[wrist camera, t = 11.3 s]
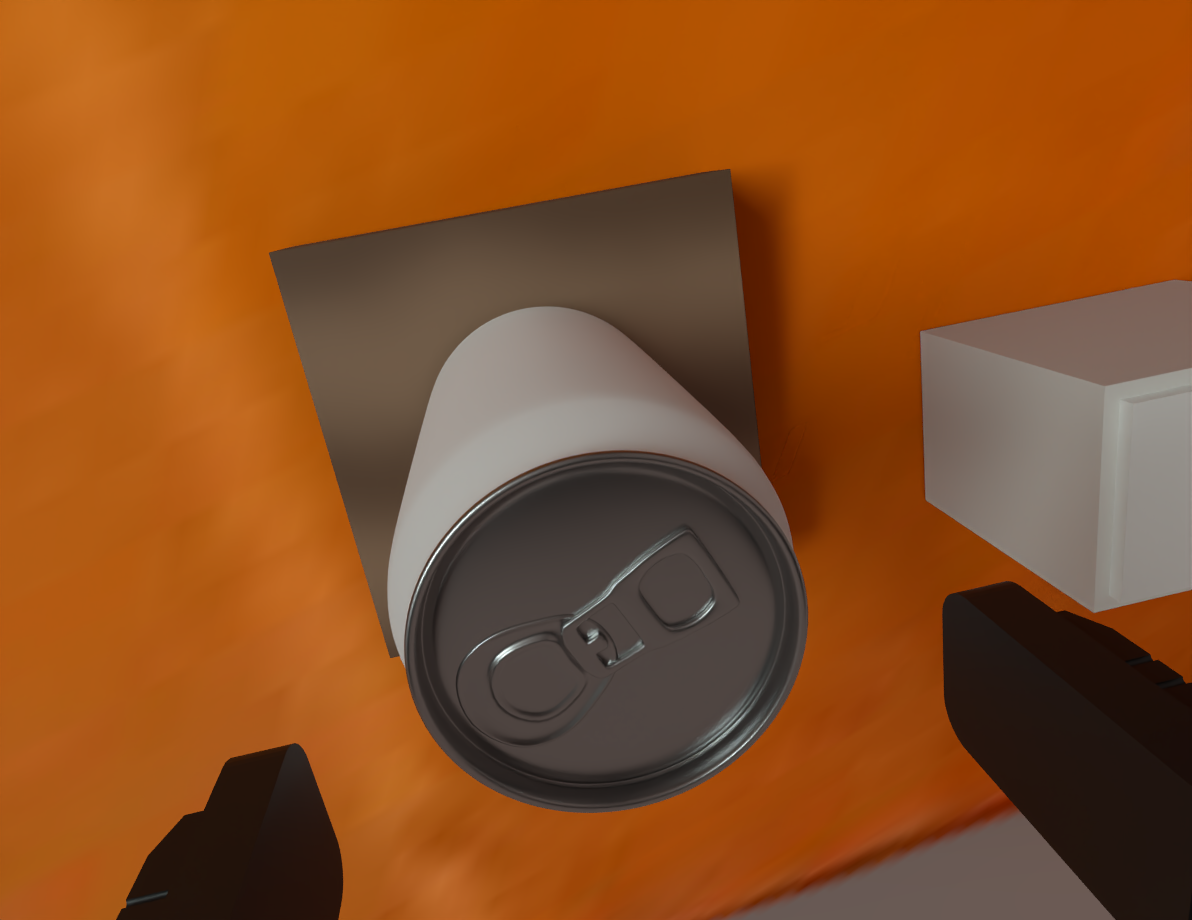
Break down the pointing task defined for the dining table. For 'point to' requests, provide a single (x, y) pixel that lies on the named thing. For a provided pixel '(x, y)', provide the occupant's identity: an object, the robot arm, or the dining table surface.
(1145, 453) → the white box
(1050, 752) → the robot arm
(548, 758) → the can
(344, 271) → the base
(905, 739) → the dining table surface
